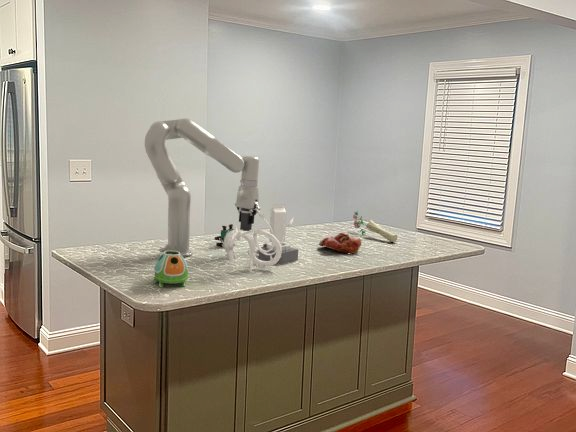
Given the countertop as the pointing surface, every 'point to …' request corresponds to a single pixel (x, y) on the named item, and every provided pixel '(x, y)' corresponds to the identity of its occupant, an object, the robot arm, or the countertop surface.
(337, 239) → the meat
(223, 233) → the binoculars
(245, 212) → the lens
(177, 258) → the turtle holder
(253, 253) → the serpentine dragon sculpture
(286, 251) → the low charcoal box
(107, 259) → the countertop surface
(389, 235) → the flower vase
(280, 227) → the milk
